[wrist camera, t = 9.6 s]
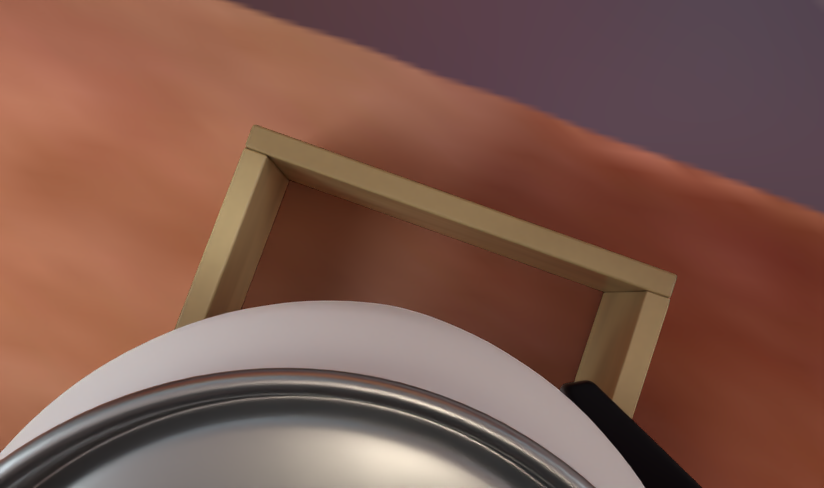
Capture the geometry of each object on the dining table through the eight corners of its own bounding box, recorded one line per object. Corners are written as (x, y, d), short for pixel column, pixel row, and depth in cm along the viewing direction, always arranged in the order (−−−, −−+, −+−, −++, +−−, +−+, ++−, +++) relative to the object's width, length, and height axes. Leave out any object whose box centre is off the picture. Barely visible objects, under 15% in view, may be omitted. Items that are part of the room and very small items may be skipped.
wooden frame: (508, 648, 22) (534, 726, 18) (139, 516, 22) (83, 564, 18) (629, 279, 23) (679, 274, 19) (277, 153, 23) (252, 122, 19)
